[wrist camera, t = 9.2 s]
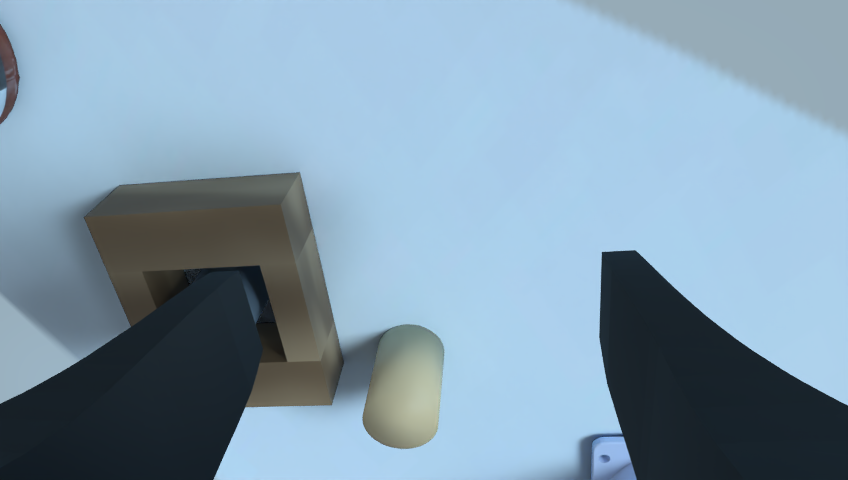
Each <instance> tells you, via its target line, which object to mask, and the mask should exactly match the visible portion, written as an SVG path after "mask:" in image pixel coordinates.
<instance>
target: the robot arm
mask: <svg viewBox="0 0 848 480" xmlns="http://www.w3.org/2000/svg"><path fill="white" fill-rule="evenodd" d="M599 338H600V344H601V350H602V356H603V362H604V368H605V374H606V379H607V384H608V387H609V391H610V394H611V398H612V401H613V404H614V407H615V411H616V414H617V417H618V421H619V424H620V427H621V430H622V434H623V437H599V438H597V439H595V440H594V441H593V443H592V461H591V480H848V406H847V405H845V404H843V403H841V402H839V401H838V400H836V399H834V398H832V397H830V396H828V395H826V394H825V393H823V392H821V391H819V390H817V389H815V388H813V387H811V386H810V385H808V384H806V383H804V382H802V381H801V380H799V379H797V378H795V377H794V376H792V375H790V374H789V373H787V372H785V371H783V370H782V369H780V368H779V367H777V366H776V365H774V364H773V363H771V362H769V361H768V360H766V359H765V358H763V357H762V356H760V355H759V354H757V353H755V352H754V351H752V350H751V349H749V348H748V347H747V346H745V345H744V344H742V343H741V342H739V341H738V340H737V339H735V338H734V337H733V336H731V335H730V334H729V333H727V332H726V331H725V330H724V329H722V328H721V327H720V326H718V325H717V324H716V323H714V322H713V321H712V320H711V319H709V318H708V317H707V316H706V315H704V314H703V313H702V312H701V311H700V310H699V309H698V308H696V307H695V306H694V305H693V304H692V303H691V302H690V301H688V300H687V299H686V298H685V297H684V296H683V295H682V294H681V293H679V292H678V291H677V290H676V289H675V288H674V287H673V286H672V285H671V284H670V283H669V282H668V281H667V280H666V279H665V278H664V277H663V276H661V275H660V274H659V273H658V272H657V271H656V270H655V269H654V268H653V267H652V266H651V265H650V264H649V263H648V262H647V261H646V260H645V259H644V258H643V257H642V256H641V255H640V254H639V253H638V252H637V251H635V250H634V251H614V252H602V268H601V301H600V335H599ZM262 352H263V347H262V344H261V340H260V337H259V334H258V331H257V328H256V324H255V321H254V318H253V315H252V311H251V308H250V305H249V302H248V298H247V295H246V292H245V289H244V285H243V282H242V279H241V276H240V272H239V271H226V272H210V273H209V274H207V275H205V276H203V277H202V278H200V279H199V280H197V281H196V282H194V283H193V284H191V285H190V286H188V287H187V288H185V289H184V290H182V291H181V292H180V293H178V294H177V295H175V296H174V297H173V298H171V299H170V300H168V301H167V302H166V303H164V304H163V305H161V306H160V307H159V308H157V309H156V310H154V311H153V312H152V313H150V314H149V315H147V316H146V317H145V318H143V319H142V320H140V321H139V322H138V323H136V324H135V325H133V326H132V327H130V328H129V329H128V330H126V331H124V332H123V333H121V334H120V335H118V336H117V337H115V338H114V339H112V340H111V341H109V342H108V343H106V344H105V345H103V346H102V347H100V348H99V349H97V350H96V351H94V352H93V353H91V354H90V355H88V356H87V357H85V358H84V359H82V360H80V361H79V362H77V363H75V364H74V365H72V366H70V367H69V368H67V369H65V370H64V371H62V372H60V373H58V374H57V375H55V376H53V377H51V378H49V379H48V380H46V381H44V382H42V383H41V384H39V385H37V386H35V387H33V388H31V389H30V390H28V391H26V392H24V393H22V394H20V395H18V396H16V397H14V398H11V399H9V400H7V401H5V402H3V403H1V404H0V480H213V479H214V477H215V475H216V472H217V470H218V468H219V466H220V463H221V461H222V459H223V457H224V454H225V452H226V450H227V447H228V445H229V443H230V441H231V438H232V436H233V434H234V432H235V429H236V427H237V425H238V423H239V420H240V418H241V416H242V413H243V411H244V409H245V406H246V404H247V402H248V399H249V397H250V394H251V392H252V389H253V385H254V382H255V378H256V375H257V371H258V367H259V363H260V359H261V356H262ZM601 455H605V456H601Z"/></svg>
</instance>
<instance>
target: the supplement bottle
mask: <svg viewBox="0 0 848 480" xmlns="http://www.w3.org/2000/svg"><path fill="white" fill-rule="evenodd" d="M19 78H20V76H19V74H18V68H17V62H16V58H15V55H14V52H13V49H12V46H11V43H10V41H9V39H8V36H7V34H6V32H5V31H4V29H3V28H2V26H1V24H0V124H1V123H2V122H3V121H4V120H5V119H6V118H7V116H8V114H9V113H10V112H11V110H12V108H13V106H14V104H15V101H16V98H17V94H18V83H19Z"/></svg>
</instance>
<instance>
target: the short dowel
mask: <svg viewBox="0 0 848 480" xmlns="http://www.w3.org/2000/svg"><path fill="white" fill-rule="evenodd" d="M443 362H444V347H443V344H442V342H441V340H440V339H439V338H438V336H437V335H436V334H434V333H433V332H432V331H430V330H429V329H426V328H424V327H421V326H417V325H400V326H396V327H394V328H391V329H390V330H388V331H387V332H386V333H384V335H383V336H382V337H381V339H380V341H379V345H378V349H377V354H376V358H375V363H374V367H373V372H372V376H371V381H370V385H369V390H368V394H367V399H366V403H365V408H364V412H363V425H364V427H365V429H366V431H367V432H368V434H369V435H370V436H371V437H372V438H374V439H375V440H376V441H378V442H380V443H381V444H384V445H386V446H389V447H393V448H399V449H409V448H415V447H419V446H422V445H424V444H426V443H427V442H429V441H430V440H431V439H432V438H433V437H434V436H435V434H436V432H437V429H438V421H439V409H440V397H441V385H442V374H443Z"/></svg>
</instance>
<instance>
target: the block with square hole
mask: <svg viewBox="0 0 848 480" xmlns="http://www.w3.org/2000/svg"><path fill="white" fill-rule="evenodd" d="M84 219H85V221H86V223H87V226H88V228H89V230H90V233H91V235H92V237H93V240H94V242H95V244H96V247H97V249H98V251H99V253H100V256H101V258H102V260H103V263H104V265H105V267H106V270H107V272H108V274H109V277H110V279H111V281H112V284H113V286H114V288H115V291H116V293H117V295H118V297H119V300H120V302H121V304H122V307H123V309H124V311H125V314H126V316H127V318H128V321H129V323H130V325H131V327H132V326H133V325H135V324H136V323H138V322H139V321H140V320H142V319H143V318H145V317H146V316H147V315H149V314H150V313H152V312H153V311H154V310H156V309H157V308H159V307H160V306H161V305H163V304H164V303H166V302H167V301H168V300H170V299H171V298H173V297H174V296H175V295H177V294H178V293H180V292H181V291H182V290H184V289H185V288H187V287H188V286H189V284H188V281H187V278H186V276H185V273H184V270H183V269H200V268H219V267H238V266H257V265H260V268H261V272H262V275H263V278H264V282H265V285H266V289H267V292H268V296H269V299H270V303H271V306H272V310H273V313H274V317H275V320H276V323H256V328H257V331H258V334H259V337H260V340H261V344H262V347H263V352H262V356H261V359H260V363H259V367H258V371H257V375H256V378H255V382H254V385H253V389H252V392H251V394H250V397H249V399H248V402H247V404H246V406H245V407H271V406H315V405H332V402H333V399H334V395H335V392H336V388H337V385H338V381H339V378H340V374H341V371H342V367H343V364H344V362H343V357H342V353H341V349H340V344H339V340H338V336H337V331H336V327H335V323H334V318H333V314H332V310H331V305H330V301H329V297H328V292H327V288H326V284H325V279H324V275H323V271H322V266H321V262H320V258H319V253H318V249H317V245H316V240H315V236H314V232H313V227H312V223H311V219H310V214H309V210H308V206H307V201H306V197H305V193H304V188H303V184H302V180H301V175H300V173H286V174H272V175H258V176H244V177H230V178H216V179H202V180H188V181H174V182H160V183H146V184H132V185H120V186H119V187H117V188H116V189H115V190H114V191H113V192H112V193H111V194H109V195H108V196H107V197H106V198H105V199H104V200H103V201H102V202H100V203H99V204H98V205H97V206H96V207H95V208H94V209H93V210H91V211H90V212H89V213H88V214H87V215H86V216H85V217H84Z"/></svg>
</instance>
